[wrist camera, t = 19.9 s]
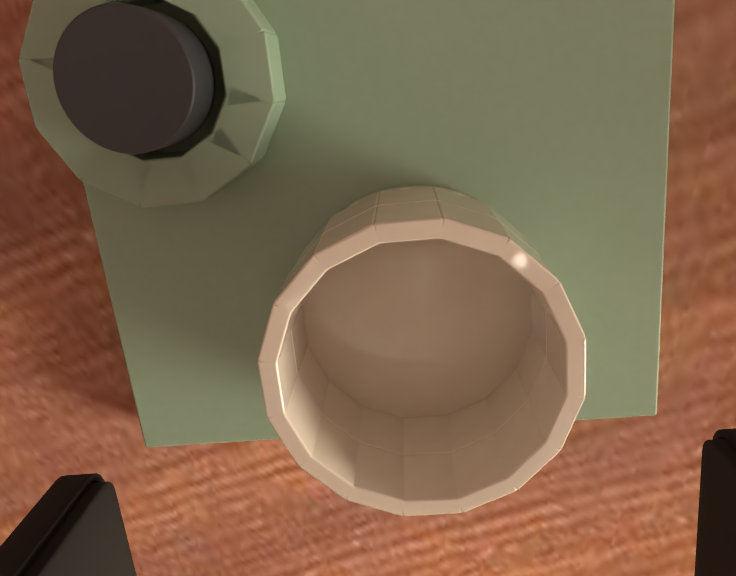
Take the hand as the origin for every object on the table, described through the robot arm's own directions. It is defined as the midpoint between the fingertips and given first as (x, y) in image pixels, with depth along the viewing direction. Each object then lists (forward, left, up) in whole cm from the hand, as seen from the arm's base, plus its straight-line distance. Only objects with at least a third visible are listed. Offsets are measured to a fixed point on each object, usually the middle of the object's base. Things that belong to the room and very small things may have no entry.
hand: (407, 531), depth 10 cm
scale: (-1, +3, -11) cm, 11 cm away
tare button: (-6, +7, -8) cm, 12 cm away
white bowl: (0, 0, -9) cm, 9 cm away
